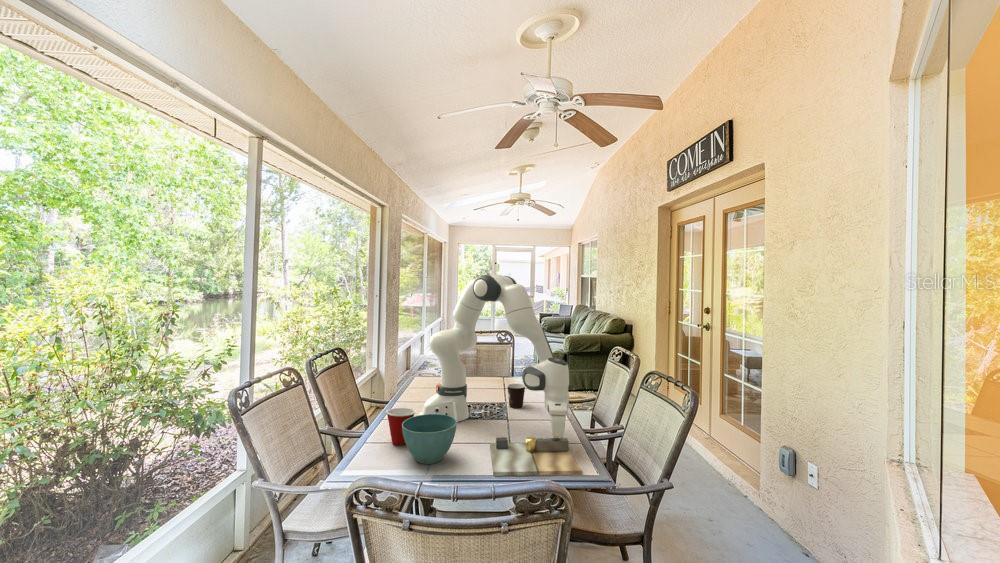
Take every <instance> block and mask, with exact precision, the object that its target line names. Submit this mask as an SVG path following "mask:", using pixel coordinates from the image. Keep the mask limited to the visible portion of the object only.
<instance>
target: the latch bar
mask: <svg viewBox="0 0 1000 563" xmlns="http://www.w3.org/2000/svg"><path fill="white" fill-rule="evenodd" d="M525 443H526V451H527V452H535V451H536V450H537V452H551V451H569V449H570V447H569V446H570V444H569V443H570V441H569V439H568V438H567V437H563V438H553V437H552V438H551V437H549V438H548V437H547V438H543V437H541V438H536V437H534V436H527V437H525Z"/></svg>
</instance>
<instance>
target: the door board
mask: <svg viewBox="0 0 1000 563" xmlns="http://www.w3.org/2000/svg"><path fill="white" fill-rule="evenodd" d="M489 447H490V448H489V450H490V458H491V460H490V461H491V469H492V475H493V477H503V476H505V477H507V476H508V477H511V476H514V477H515V476H517V477H518V476H555V475H557V476H559V475H560V476H562V475H563V476H565V475H567V476H568V475H582V474H583V470H582V468H581V466H580V464H579V462H578V460H577V459H576V458H575V456H574V454H573V452H572V451H571V448H569V451H551V452H537V450H536V451H535V452H527V451H526V442H508V449H496V442H495V443H493V442H492V443H491V442H490V443H489Z"/></svg>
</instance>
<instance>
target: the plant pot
mask: <svg viewBox="0 0 1000 563" xmlns="http://www.w3.org/2000/svg"><path fill="white" fill-rule="evenodd" d="M457 425H458V422H457V421H456V419H455V418H453V417H451V416H448V415H443V414H425V415H418V414H417V415H414V417H411V418H409V419H407V420H405V421H404V422H403V423H402V430H403V436H404V440H405V443H406V444H405V446H406V448H407V449H408V451H409V453H410V454H411V455H412V457H413V458H414V459H415V460H416V461H417V462H419V463H420V464H426V465H431V464H436V463H438V462H440V461H441V460H443V458H444V457H445V456H446V455H447V453H448V452H449V450H450V448H451V446H452V444H453V442H454V438H455V435H456V432H457Z"/></svg>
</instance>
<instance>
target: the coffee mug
mask: <svg viewBox="0 0 1000 563" xmlns="http://www.w3.org/2000/svg"><path fill="white" fill-rule="evenodd" d="M525 389H526V386H525V385H524V383H523V384H522V383H510V384H507V394H508V395H507V396H508V407H509V408H511V409H515V410H516V409H518V410H519V409H522V408H523V406H524V398H525V392H526V390H525Z"/></svg>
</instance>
